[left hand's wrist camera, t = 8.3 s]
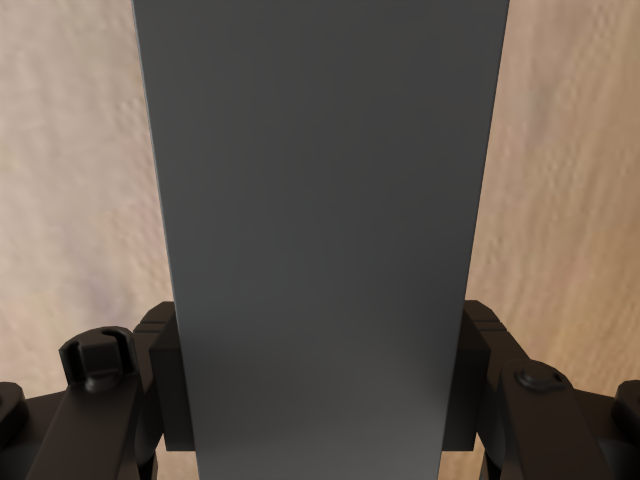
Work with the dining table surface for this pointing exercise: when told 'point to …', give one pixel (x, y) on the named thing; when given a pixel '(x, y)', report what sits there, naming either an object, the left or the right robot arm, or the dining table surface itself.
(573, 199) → the dining table surface
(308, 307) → the post
